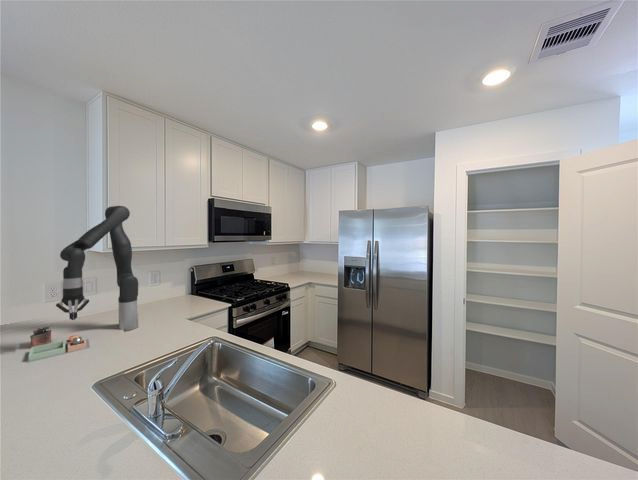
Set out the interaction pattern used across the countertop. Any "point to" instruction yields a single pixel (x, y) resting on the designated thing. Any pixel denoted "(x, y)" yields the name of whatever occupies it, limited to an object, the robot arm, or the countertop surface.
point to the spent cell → (76, 340)
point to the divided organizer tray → (55, 349)
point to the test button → (72, 338)
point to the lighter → (41, 337)
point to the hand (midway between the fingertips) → (73, 319)
